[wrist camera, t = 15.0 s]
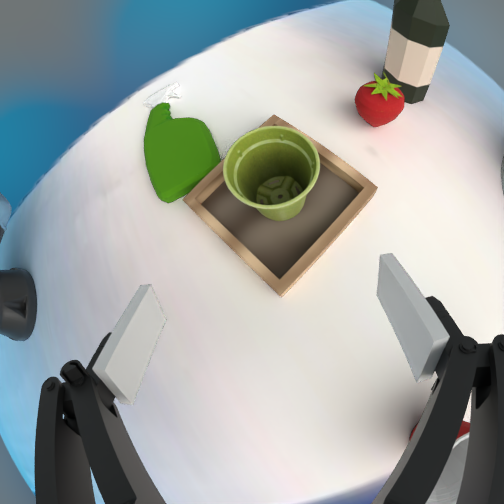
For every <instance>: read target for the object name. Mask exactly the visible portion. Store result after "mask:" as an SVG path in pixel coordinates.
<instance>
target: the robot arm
mask: <svg viewBox="0 0 504 504" xmlns="http://www.w3.org/2000/svg"><path fill="white" fill-rule="evenodd" d="M10 215H11V206H10V203H9V202H8V200H7V199H6V198H5V197H4V196H3V195H2V194H1V193H0V243H1V240H2V237H3V234H4V232H5V231H6V226H7V223H8V220H9V217H10ZM377 297H378V299H379V301H380V303H381V305H382V307H383V309H384V311H385V313H386V315H387V317H388V319H389V321H390V323H391V325H392V327H393V329H394V331H395V334H396V336H397V338H398V340H399V342H400V344H401V347H402V349H403V351H404V353H405V356H406V358H407V360H408V363H409V365H410V367H411V370H412V372H413V375H414V377H415V380H416V382H417V383H418V382H421V381H424V380H427V379H430V378H431V377H432V375H433V373H434V371H436V374H437V376H438V378H437V379H436V381H435V383H434V385H433V387H432V389H431V390H432V393H431V395H430V398H429V400H428V403H427V405H426V407H425V410H424V412H423V414H422V417H421V419H420V421H419V423H418V425H417V428H416V430H415V432H414V434H413V436H412V438H411V440H410V442H409V444H408V446H407V447H406V449H405V451H404V453H403V455H402V457H401V458H400V460H399V462H398V464H397V465H396V467H395V469H394V470H393V472H392V474H391V475H390V477H389V478H388V480H387V481H386V483H385V485H384V486H383V488H382V489H381V491H380V492H379V493H378V495H377V496H376V498H375V499H374V500H373V502H372V503H371V504H426V502H427V500H428V499H429V497H430V495H431V493H432V491H433V490H434V488H435V486H436V484H437V482H438V480H439V478H440V476H441V474H442V472H443V469H444V467H445V465H446V463H447V460H448V458H449V456H450V453H451V451H452V449H453V446H454V443H455V441H456V438H457V435H458V433H459V430H460V427H461V424H462V421H463V418H464V415H465V411H466V408H467V404H468V401H469V397H470V393H471V389H472V397H471V420H470V432H469V441H468V449H467V456H466V462H465V467H464V473H463V478H462V482H461V487H460V491H459V495H458V499H457V502H456V504H504V335H503V334H501V335H497V336H496V337H495V338H494V340H493V341H492V343H488V344H478V343H477V342H476V341H475V340H474V339H473V338H471V337H469V336H464V335H463V334H462V332H461V331H460V329H459V328H458V326H457V325H456V323H455V322H454V320H453V319H452V317H451V316H449V313H448V311H447V310H446V309H445V307H444V306H443V304H442V303H441V302H440V301H439V300H438V299H436V298H435V297H433V296H431V297H427V298H425V297H424V296H423V294H422V293H421V291H420V290H419V289H418V287H417V286H416V284H415V283H414V282H413V280H412V279H411V277H410V276H409V275H408V273H407V272H406V271H405V269H404V268H403V267H402V265H401V264H400V263H399V261H398V260H397V259H396V257H395V256H394V255H393V254H392V253H390V254H383V255H380V262H379V275H378V286H377ZM35 319H36V292H35V286H34V283H33V280H32V277H31V275H30V274H29V273H28V272H27V271H26V270H24V269H20V268H12V269H10V270H0V334H2V335H4V336H7V337H9V338H10V339H12V340H15V341H25V340H27V339H28V338H29V337H30V335H31V333H32V331H33V328H34V324H35ZM166 320H167V319H166V317H165V315H164V313H163V310H162V308H161V306H160V304H159V301H158V299H157V297H156V294H155V292H154V290H153V287H152V285H151V284H149V285H140V287H139V289H138V290H137V292H136V293H135V295H134V297H133V298H132V300H131V301H130V303H129V305H128V306H127V308H126V310H125V311H124V313H123V315H122V316H121V318H120V320H119V321H118V323H117V325H116V327H115V328H114V330H113V332H112V333H108V334H107V335H106V336H105V337H104V338H103V340H102V341H101V343H100V345H99V347H98V348H97V350H96V353H95V354H94V355H93V357H92V359H91V361H90V363H89V365H88V366H87V368H86V369H85V368H84V367H83V366H82V364H81V363H80V362H79V361H78V360H72V361H69V362H67V363H66V364H65V365H64V366H63V367H62V369H61V371H60V376H61V377H62V378H63V379H64V380H65V381H66V382H64V383H61V382H60V380H59V379H58V378H56V377H50V378H48V379H47V380H46V381H45V382H44V383H43V385H42V388H41V394H40V401H39V408H38V417H37V427H36V440H35V493H36V504H96V503H95V498H94V492H93V486H92V479H91V471H90V467H91V470H92V473H93V476H94V478H95V481H96V483H97V486H98V488H99V491H100V493H101V495H102V498H103V500H104V502H105V504H166V503H165V501H164V499H163V498H162V496H161V495H160V493H159V491H158V490H157V488H156V487H155V485H154V483H153V481H152V480H151V478H150V476H149V474H148V473H147V471H146V469H145V467H144V465H143V463H142V462H141V460H140V458H139V456H138V454H137V452H136V450H135V448H134V446H133V444H132V441H131V439H130V437H129V435H128V433H127V431H126V428H125V426H124V424H123V421H122V419H121V417H120V414H119V412H118V409H117V407H116V405H115V403H114V402H113V401H114V398H115V397H116V398H117V399H118V401H119V402H120V403H122V404H129V405H133V404H134V401H135V399H136V396H137V393H138V390H139V388H140V385H141V382H142V380H143V377H144V374H145V372H146V369H147V367H148V364H149V361H150V359H151V356H152V354H153V351H154V349H155V346H156V344H157V341H158V339H159V336H160V334H161V332H162V329H163V327H164V324H165V322H166ZM63 414H64V419H63Z"/></svg>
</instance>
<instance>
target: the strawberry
mask: <svg viewBox="0 0 504 504" xmlns="http://www.w3.org/2000/svg"><path fill="white" fill-rule="evenodd" d="M383 73H384V72H383ZM384 75H385V73H384ZM374 76H375V80H376V81H372V82H369V83H366V84H364V85H363V86H361V87H360V88H359V90H358V91H357V94H356V96H355V104H356V108H357V111H358V113H359V115H360V116H361V117H362V118H363V119H364V120H365V121H366V122H367V123H369V124H371V125H372V126H373V127H378V126H381V125H385V124H387V123H389V122H391V121H393V120H394V119H395V118H396V117H397V116H398V115H399V114H400V113H401V111H402V110H403V108H404V95H403V93H402V92H401V91H400V89H399V88H398V87H401V86H400V85H396V84H391V83H390V82H389V80H388V79H387V77H386V75H385V77H386V78H385V79H383V80H382V79H381V78H380V77H379V76H377V75H376V74H375V73H374ZM387 80H388V81H387Z"/></svg>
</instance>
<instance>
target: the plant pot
mask: <svg viewBox="0 0 504 504" xmlns="http://www.w3.org/2000/svg"><path fill="white" fill-rule="evenodd" d="M319 171H320V159H319V155H318V152H317V150H316V148H315V146H314V145H313V143H312V142H311V141H310V140H309V139H308V138H307V137H306V136H305V135H303V134H302V133H300V132H298V131H296V130H294V129H291V128H288V127H283V126H265V127H261V128H257V129H255V130H252V131H250V132H248V133H246V134H245V135H243V136H242V137H240V138H239V139H238V140H237V141H236V142H235V143H234V144H233V145H232V146H231V148H230V149H229V151H228V152H227V155H226V157H225V160H224V164H223V175H224V179H225V182H226V185H227V187H228V188H229V190H230V191H231V192H232V194H233V195H234V196H235V197H236V198H237V199H238V200H240V201H241V202H243V203H245V204H247V205H249V206H251V207H254V208H256V209H257V210H258V211H259V212H260V213H261V214H262V215H264V216H265V217H267V218H269V219H272V220H275V221H285V220H289V219H291V218H293V217H295V216H296V215H297V214H298V213H299V212H300V211H301V209H302V208H303V206H304V203H305V199H306V195H307V194H308V193H309V191H310V190H311V189H312V188H313V186H314V185H315V183H316V181H317V178H318V175H319ZM275 180H279V182H277V183H274V184H271V185H269V183H270V182H273V181H275ZM295 187H297V188H298V189H299V190H300V193H301V194H300V195H298V193H297V190H296V188H295ZM279 195H282V198H278V196H279ZM261 199H262V200H263V203H264V205H261V203H260V201H261Z"/></svg>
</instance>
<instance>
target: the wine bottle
mask: <svg viewBox="0 0 504 504" xmlns="http://www.w3.org/2000/svg"><path fill="white" fill-rule="evenodd" d="M449 26H450V25H449V22H448V19H447V17H446V14H445V11H444V8H443V6H442V3H441V0H394V7H393V15H392V22H391V29H390V35H389V41H388V47H387V53H386V58H385V64H384V69H383V72H384V73H385V75H386V77H387V79H388V80H389V82H390V83H391V84H396V85H400V86H401V87H398V88H399V89H400V91H401V92H402V93H403V95H404V102H407V103H409V104H413V103H416V102H419V101H423V100H424V97H425V95H426V92H427V90H428V87H429V85H430V82H431V79H432V77H433V74H434V71H435V69H436V66H437V63H438V60H439V57H440V54H441V52H442V49H443V45H444V42H445V39H446V36H447V33H448V29H449ZM384 73H383V74H382V80H383V79H385V78H386V77H385V75H384ZM388 80H387V81H388Z"/></svg>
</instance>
